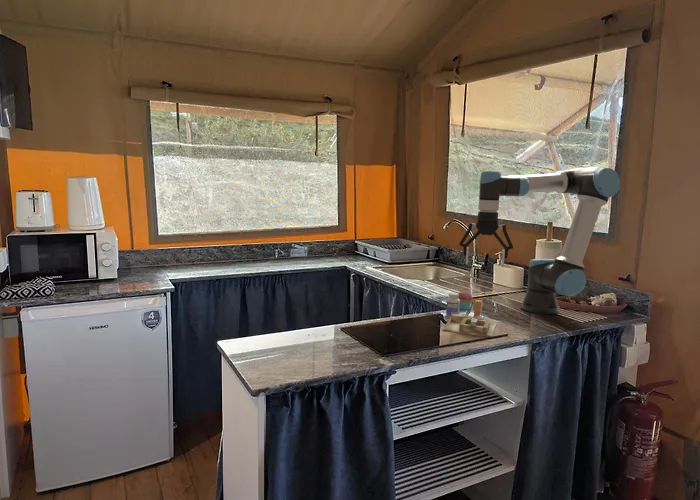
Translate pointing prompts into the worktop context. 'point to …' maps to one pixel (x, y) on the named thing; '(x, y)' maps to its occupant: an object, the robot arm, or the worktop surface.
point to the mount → (469, 326)
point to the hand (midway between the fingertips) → (484, 265)
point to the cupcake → (464, 299)
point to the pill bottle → (453, 304)
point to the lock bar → (476, 312)
